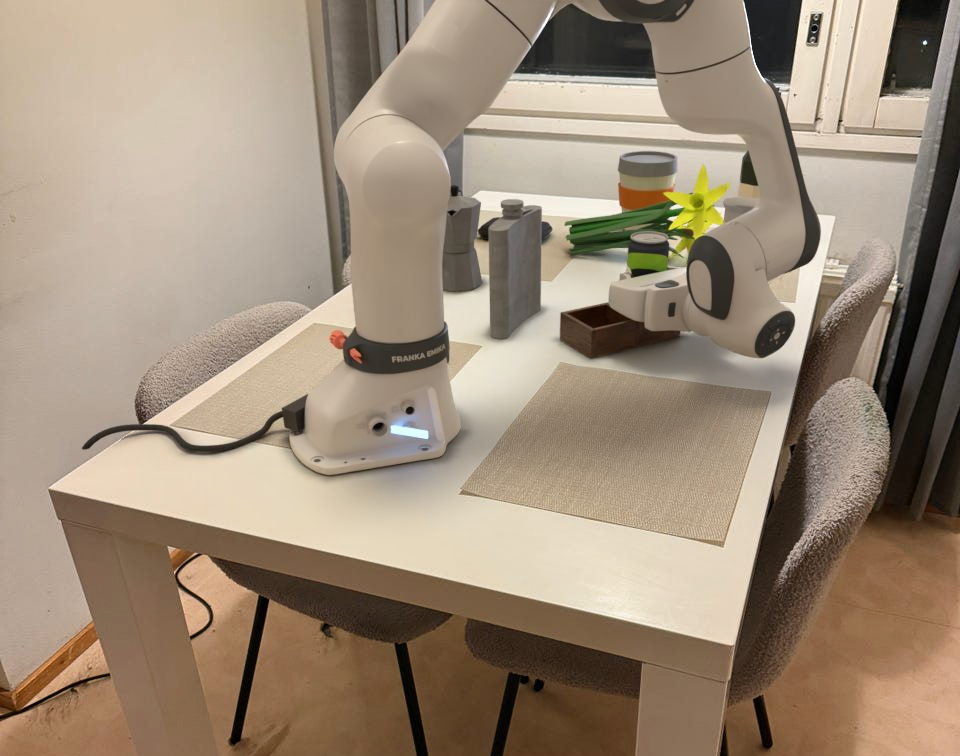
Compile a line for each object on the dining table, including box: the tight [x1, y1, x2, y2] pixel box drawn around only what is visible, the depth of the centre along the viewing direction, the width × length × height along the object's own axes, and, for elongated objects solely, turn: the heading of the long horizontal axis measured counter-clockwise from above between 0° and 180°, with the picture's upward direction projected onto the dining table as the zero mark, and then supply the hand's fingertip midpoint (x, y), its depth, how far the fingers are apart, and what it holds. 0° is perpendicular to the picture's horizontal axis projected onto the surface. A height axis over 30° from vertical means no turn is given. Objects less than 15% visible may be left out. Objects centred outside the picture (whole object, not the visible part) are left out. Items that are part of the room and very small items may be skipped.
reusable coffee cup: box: [617, 150, 679, 231], centre depth 193 cm, size 13×13×15 cm
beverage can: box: [626, 231, 670, 277], centre depth 141 cm, size 6×6×15 cm
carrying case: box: [477, 216, 553, 242], centre depth 193 cm, size 11×3×15 cm
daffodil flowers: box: [564, 164, 731, 260], centre depth 174 cm, size 17×15×35 cm
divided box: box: [559, 301, 681, 360], centre depth 143 cm, size 17×9×5 cm, turn 118°
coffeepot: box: [442, 184, 483, 293], centre depth 164 cm, size 15×9×18 cm, turn 176°
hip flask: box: [488, 198, 543, 340], centre depth 146 cm, size 16×4×20 cm, turn 154°
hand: (641, 273), depth 141 cm, fingers open, 6 cm apart
